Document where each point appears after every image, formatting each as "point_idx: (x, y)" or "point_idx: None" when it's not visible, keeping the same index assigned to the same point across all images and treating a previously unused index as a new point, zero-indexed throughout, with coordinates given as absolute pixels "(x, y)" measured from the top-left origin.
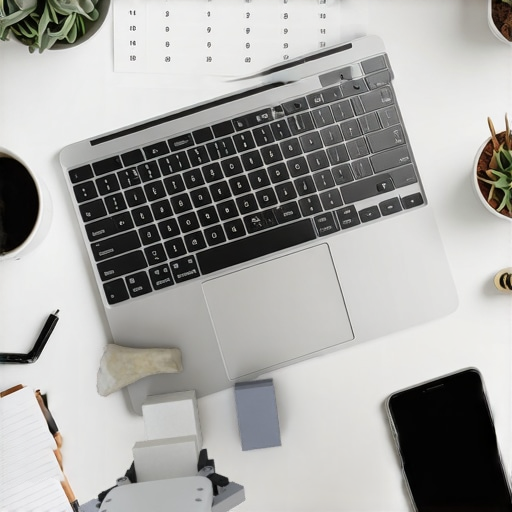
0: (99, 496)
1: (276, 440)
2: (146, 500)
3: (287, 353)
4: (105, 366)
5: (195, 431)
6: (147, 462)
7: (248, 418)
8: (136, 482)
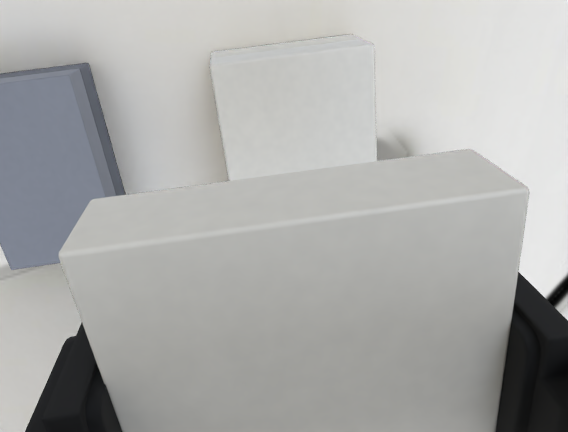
0: None
1: None
2: None
3: (8, 293)
4: None
5: (227, 149)
6: None
7: (67, 180)
8: (507, 419)
